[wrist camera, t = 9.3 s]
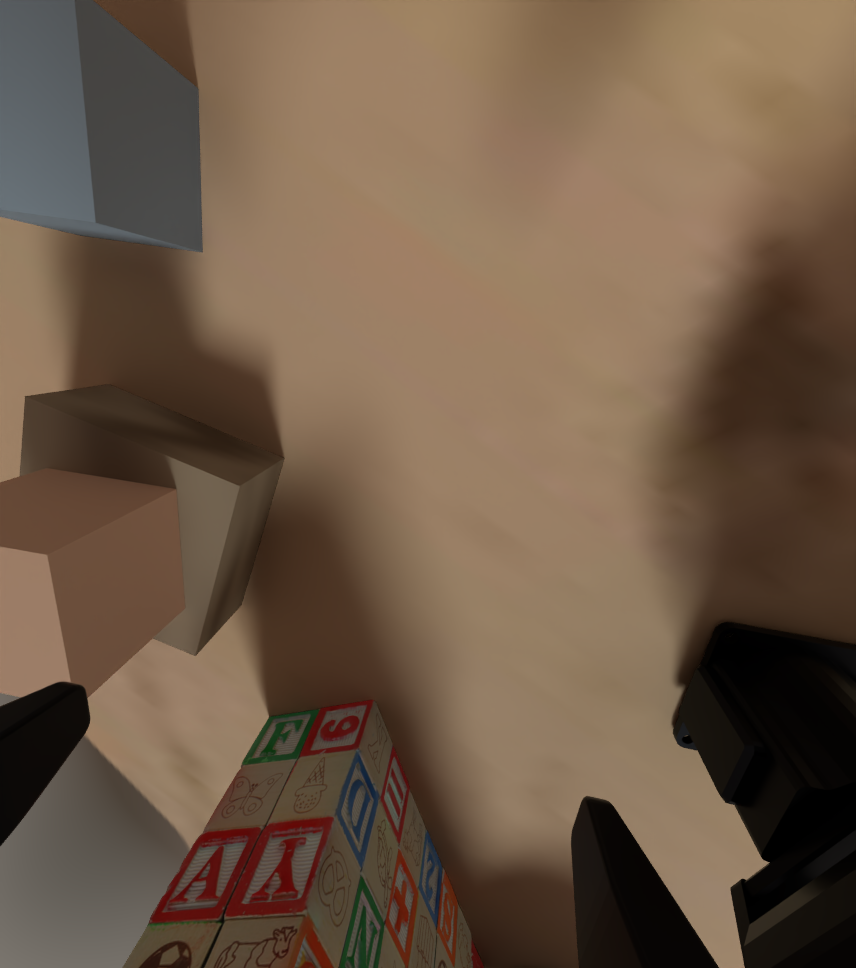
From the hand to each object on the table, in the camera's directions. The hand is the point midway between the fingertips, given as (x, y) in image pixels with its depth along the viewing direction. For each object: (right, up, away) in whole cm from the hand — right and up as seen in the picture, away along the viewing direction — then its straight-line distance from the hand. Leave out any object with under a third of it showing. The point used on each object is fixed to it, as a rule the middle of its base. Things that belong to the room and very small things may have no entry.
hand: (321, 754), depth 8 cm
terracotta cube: (-10, +3, +9) cm, 14 cm away
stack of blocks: (0, -16, +19) cm, 25 cm away
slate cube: (-9, +16, +8) cm, 20 cm away
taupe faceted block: (-9, +4, +13) cm, 16 cm away
